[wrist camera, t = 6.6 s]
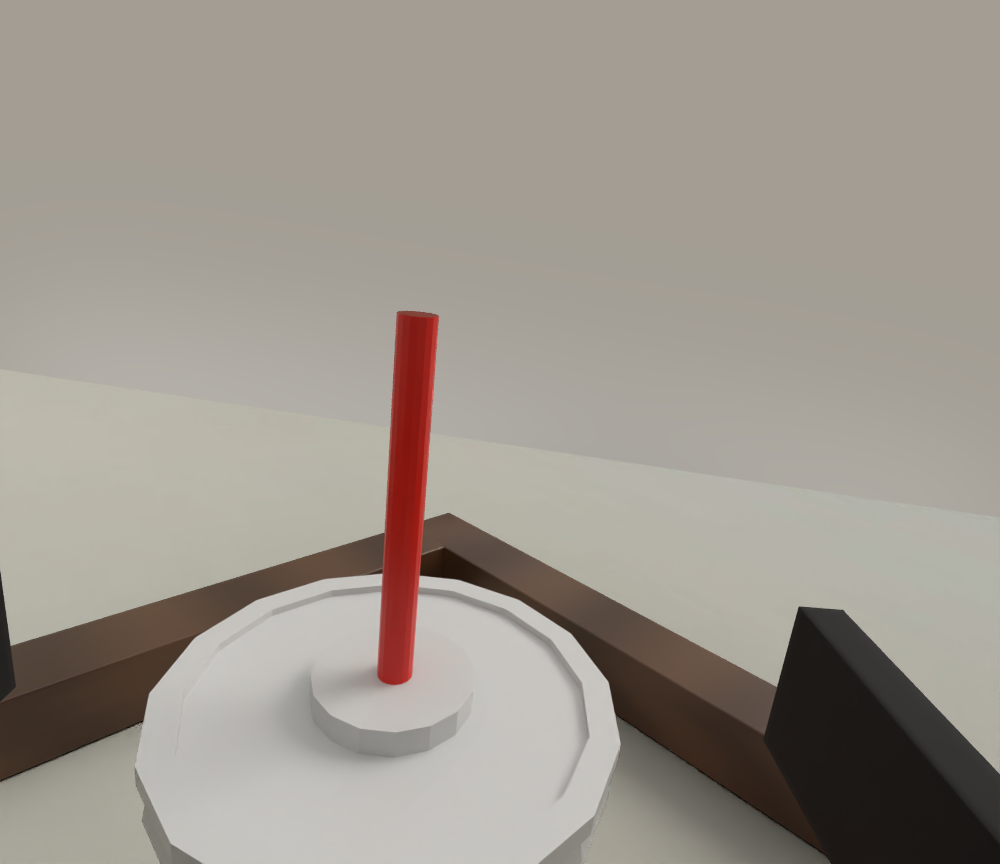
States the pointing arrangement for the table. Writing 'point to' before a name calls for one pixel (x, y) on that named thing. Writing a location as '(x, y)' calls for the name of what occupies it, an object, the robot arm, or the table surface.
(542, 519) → the table surface
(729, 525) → the table surface
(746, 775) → the bracket
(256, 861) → the beverage cup
